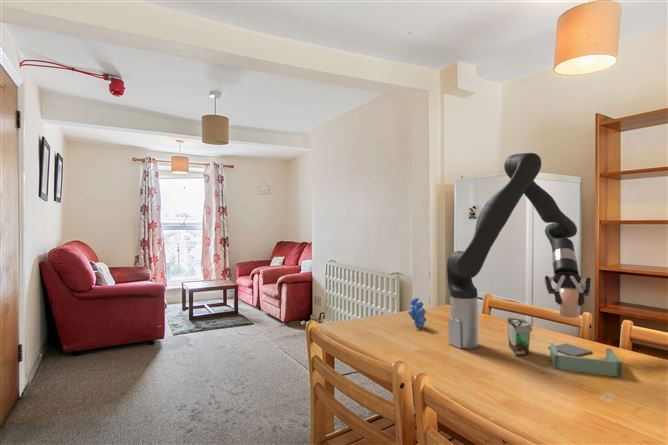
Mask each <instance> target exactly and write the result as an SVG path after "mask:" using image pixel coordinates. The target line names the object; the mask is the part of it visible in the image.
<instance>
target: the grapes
mask: <svg viewBox="0 0 668 445" xmlns="http://www.w3.org/2000/svg"><path fill="white" fill-rule="evenodd" d="M410 305H411V306H410V307H409V311H408V315H409V316H410V318H411V319H412V320H413V321H414V322H413V323H414V325H415V326H416V327H417V326H419V328H424V326H425V323H426V321H427V318H426V317H425V315H426V312H427V311H426V310H425V308H424V303H423V302H422V301H421V300H420V299H419V298H418V297H416V296H415V297H414V298H413V299H412V300H411V301H410Z"/></svg>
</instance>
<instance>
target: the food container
mask: <svg viewBox="0 0 668 445" xmlns="http://www.w3.org/2000/svg"><path fill="white" fill-rule="evenodd" d="M506 322H507V334H508V348H509V349H510V351H511V352H512V354H513V355H514V356H515V357H526V356H528V355H529V353H530V352H529V351H530V339H531V338H530V337H531V332H532V331H533V327H532V324H531V322H530V321H527V320H525V319H523V318H522V319H521V318H517V317H516V318H515V317H507V320H506Z"/></svg>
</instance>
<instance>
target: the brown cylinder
mask: <svg viewBox="0 0 668 445" xmlns="http://www.w3.org/2000/svg"><path fill="white" fill-rule="evenodd" d="M559 293H560V300H561V303H560V305H559V316H561V317H564V318H573V319H574V318H580V306H579V289H577V288H571V287H561V288H559Z"/></svg>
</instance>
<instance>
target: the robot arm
mask: <svg viewBox="0 0 668 445" xmlns="http://www.w3.org/2000/svg"><path fill="white" fill-rule="evenodd" d="M541 167H542V159H541V157H540V156H539V155H538V154H537V153H533V152H524V153H515V154H511V155H509V156H508V157H506V159H505V160H504V171H505V174H506V175H507V176H508V178H509V179H510V180H509V181H508V182H507V184H506V185H504V186H503V187H502V188H501V189H499V190H498V191H497V192H496V193H495V194H493V195H492V196H491V197H490V198H489V199H488V200H487V201H486V202H485V204H484V206H483V207H482V209H481V211H480V213H479V215H478V217H477V219H476V224H475V231H474V234H473V237H472V238H471V241H470V242H469V244H468V246H467V247H466V249H465V250H456V251H453V252H452V253H451V254H450V255H449V256H448V258H447V261H446V273H447V274H446V275H447V276H446V278H447V285H448V289H449V298H450V300H449V301H450V302H449V303H450V307H449V310H450V316H448V318H447V319H448V320H447V321H448V322H447V323H448V325H447V326H448V329H447V330H448V344H449V345H451V346H454V347H455V348H458V349H475V348H478V347H479V316H478V314H479V313H478V312H479V311H478V309H479V308H478V304H479V303H478V302H479V301H478V290H477V287H475V285H474V282H473V278H474V277H476V276H477V275H478V274H479V273H480V271H481V270H482V267H483V266H484V263H485V261H486V259H487V257H488V254H489V252H490V251H491V248H492V246H493V245H494V243H495V242H496V240H497V238H498V236H499V234H500V233H501V231H502V229H503V228H504V227H505V225H506V223H507V222H508V221H509V218H510V217H511V214H513V211H515V210H514V209H515V208H516V206H517V205H518V203H519V202H520V200H521V198H522V197H523V196H525V197H526V198H527V199H528V201H529V202H530V203H531V204H532V206H533V208H534V209H535V211H536V213H537V214H538V215H539V217H540V219H541V220H542V221H543V222H544V223H545V224H546V223H547V225H546V226H545V229H544V233H545V235H546V237H547V239H548V241H549V244H550V246H551V251H552V257H551V261H552V263H551V264H552V268H553V276H549V275H545V276H544V283H545V287H546V290H547V293H548V294H550V295H552V294H553V295H554V301H555V303H556V304H557V305H559V306H560V303H561V300H560V293H559V288H561V287H571V288H577V289H579V307H582V306H583V305H584V304H585V296H586V297H588V296H589V295H590V292H591V291H590V290H591V289H590V287H591V278H590V277H585V278H583V277H581V275H580V272H579V266H578V260H577V259H578V258H577V256H576V253H575V247H574V242H573V241H572V240H571V239H570V238H572V237H573V238H574V237H575V236H576V235H577V233H578V228H577V227H578V226H576V223H575V222H574V221H573V220H572V219H571V218H569V217H568V216H567V215H566V214H565V213H564V212H563V211H562V210H561V209H560V208H559V206H558V204H557V202H556V200H555V199H554V197H553V196H552V195H550V194H549V193H548V192H547V191H546V190H545V189H544V188H542V187H541V186H540V185H539V184H537V183H536V181H535V179H536V178H537V176H538V175H539V173H540V171H541ZM553 282H554V283H555V284H556V286H555V288H553V286H552V283H553ZM580 283H582V285H583V286H585V287H584V289H582V287H581V285H580Z"/></svg>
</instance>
